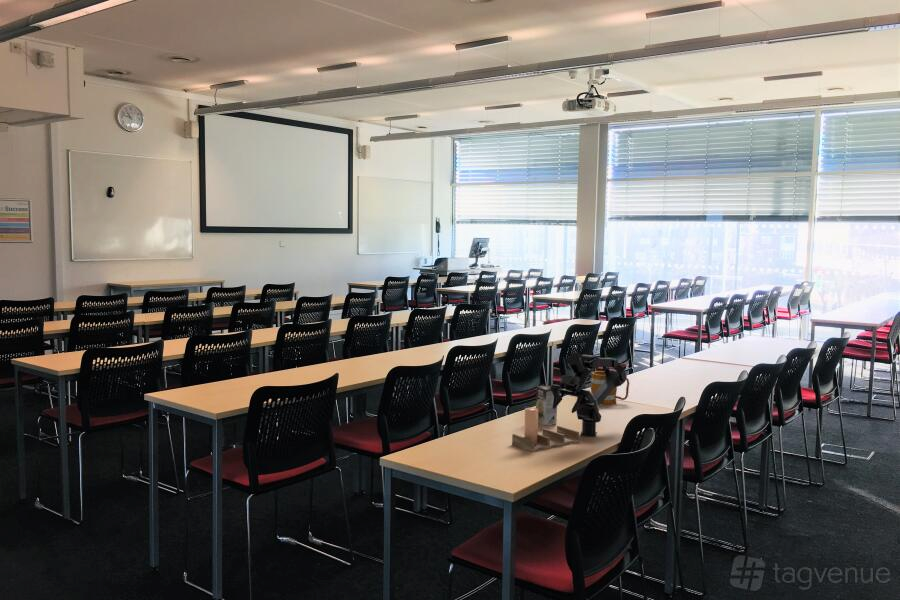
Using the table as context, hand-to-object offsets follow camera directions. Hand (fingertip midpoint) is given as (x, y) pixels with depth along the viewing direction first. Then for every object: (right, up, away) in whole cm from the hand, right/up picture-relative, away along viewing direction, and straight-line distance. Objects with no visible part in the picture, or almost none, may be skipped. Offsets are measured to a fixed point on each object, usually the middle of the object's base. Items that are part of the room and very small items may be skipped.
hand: (562, 410), depth 297 cm
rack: (-7, -13, +1) cm, 15 cm away
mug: (+36, -8, +78) cm, 86 cm away
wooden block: (-13, -13, -4) cm, 19 cm away
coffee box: (-2, -11, +35) cm, 37 cm away
